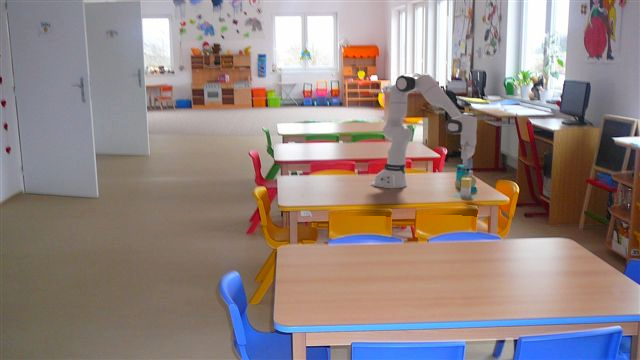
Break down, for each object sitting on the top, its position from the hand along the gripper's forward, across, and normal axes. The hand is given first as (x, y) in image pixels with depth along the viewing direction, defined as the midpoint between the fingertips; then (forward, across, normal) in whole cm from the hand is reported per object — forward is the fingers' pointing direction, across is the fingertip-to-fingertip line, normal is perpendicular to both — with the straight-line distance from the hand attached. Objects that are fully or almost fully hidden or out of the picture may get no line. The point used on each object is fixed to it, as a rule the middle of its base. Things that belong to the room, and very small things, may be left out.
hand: (467, 164), depth 387 cm
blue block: (+2, 0, 0) cm, 2 cm away
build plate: (+20, 0, 0) cm, 20 cm away
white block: (+18, 0, 0) cm, 19 cm away
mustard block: (+14, 0, 0) cm, 14 cm away
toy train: (+20, +18, +4) cm, 27 cm away
